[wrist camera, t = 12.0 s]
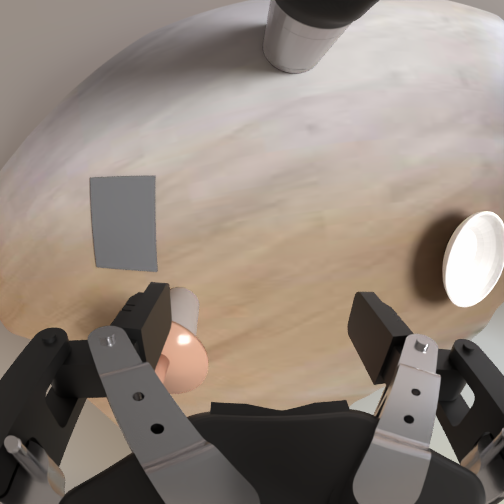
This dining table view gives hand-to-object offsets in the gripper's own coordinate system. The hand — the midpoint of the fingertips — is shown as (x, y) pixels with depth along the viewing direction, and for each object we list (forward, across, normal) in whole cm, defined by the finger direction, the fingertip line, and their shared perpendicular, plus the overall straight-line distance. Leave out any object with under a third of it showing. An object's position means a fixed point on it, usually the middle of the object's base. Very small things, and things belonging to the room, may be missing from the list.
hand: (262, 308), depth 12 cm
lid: (+18, +11, +19) cm, 28 cm away
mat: (+33, +21, +5) cm, 40 cm away
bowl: (+33, -44, +6) cm, 56 cm away
